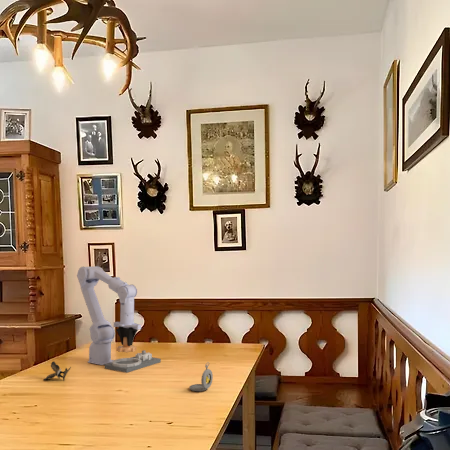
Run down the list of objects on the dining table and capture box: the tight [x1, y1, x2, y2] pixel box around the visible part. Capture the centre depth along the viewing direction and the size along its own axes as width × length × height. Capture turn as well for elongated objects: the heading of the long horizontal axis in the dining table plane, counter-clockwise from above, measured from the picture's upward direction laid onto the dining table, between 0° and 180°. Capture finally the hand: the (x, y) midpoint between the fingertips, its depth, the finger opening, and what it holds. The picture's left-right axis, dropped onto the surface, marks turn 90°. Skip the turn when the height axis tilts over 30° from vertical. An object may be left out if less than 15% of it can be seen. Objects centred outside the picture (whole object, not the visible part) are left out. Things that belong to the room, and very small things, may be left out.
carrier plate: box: [104, 349, 162, 374], centre depth 200 cm, size 13×21×5 cm, turn 147°
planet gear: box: [116, 337, 137, 353], centre depth 197 cm, size 8×8×6 cm
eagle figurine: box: [43, 361, 72, 381], centre depth 178 cm, size 8×7×9 cm
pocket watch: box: [188, 362, 214, 392], centre depth 165 cm, size 8×8×10 cm
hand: (126, 345), depth 197 cm, fingers closed on planet gear, 3 cm apart
